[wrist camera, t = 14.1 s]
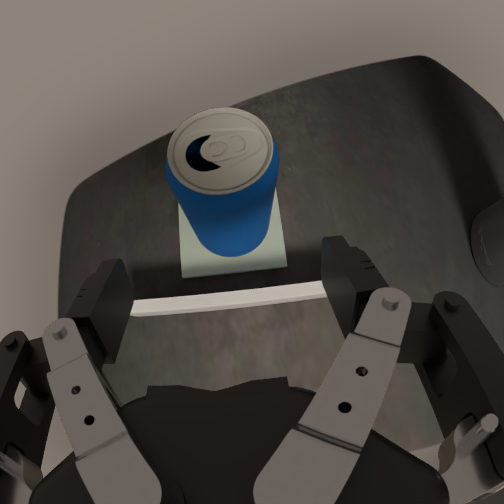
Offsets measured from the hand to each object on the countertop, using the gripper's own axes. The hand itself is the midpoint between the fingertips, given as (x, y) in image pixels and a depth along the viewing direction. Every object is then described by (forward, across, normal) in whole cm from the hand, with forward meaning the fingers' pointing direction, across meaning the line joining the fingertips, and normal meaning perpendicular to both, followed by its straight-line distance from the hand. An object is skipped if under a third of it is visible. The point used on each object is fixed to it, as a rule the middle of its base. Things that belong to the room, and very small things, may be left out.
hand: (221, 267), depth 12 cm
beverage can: (+15, 0, +5) cm, 16 cm away
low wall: (+10, 0, +10) cm, 14 cm away
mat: (+15, 0, +5) cm, 16 cm away
